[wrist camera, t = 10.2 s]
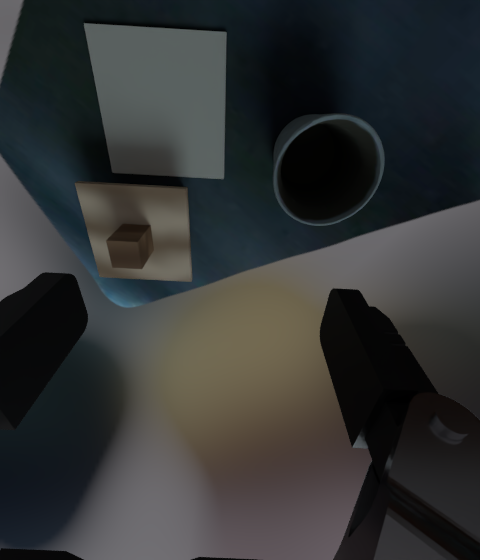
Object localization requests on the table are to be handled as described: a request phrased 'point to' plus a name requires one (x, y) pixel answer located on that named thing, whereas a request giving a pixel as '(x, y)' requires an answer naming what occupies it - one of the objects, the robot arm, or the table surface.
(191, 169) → the tray
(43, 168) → the table surface
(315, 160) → the grey cup
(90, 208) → the lid
